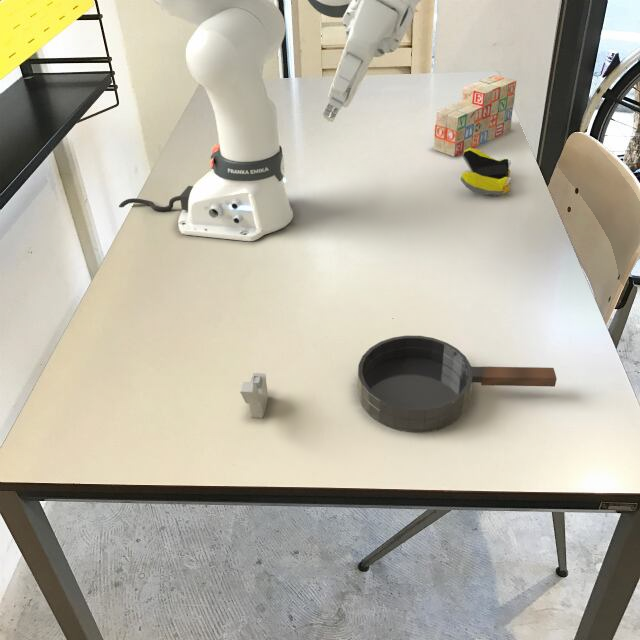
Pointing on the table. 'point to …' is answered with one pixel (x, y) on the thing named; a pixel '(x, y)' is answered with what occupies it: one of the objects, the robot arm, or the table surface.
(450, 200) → the table surface
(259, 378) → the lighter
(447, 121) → the stack of blocks
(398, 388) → the pan
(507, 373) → the pan handle
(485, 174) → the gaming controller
